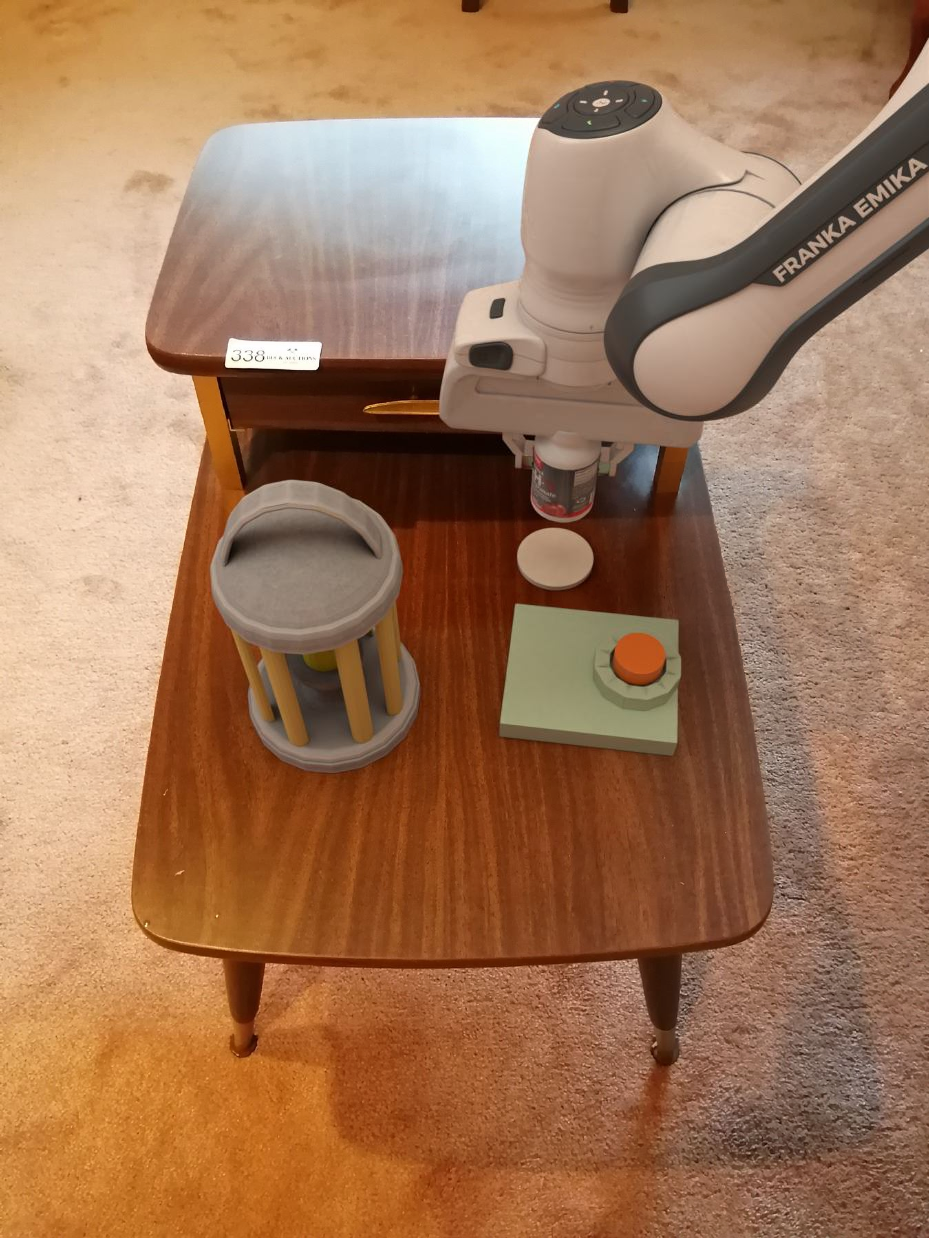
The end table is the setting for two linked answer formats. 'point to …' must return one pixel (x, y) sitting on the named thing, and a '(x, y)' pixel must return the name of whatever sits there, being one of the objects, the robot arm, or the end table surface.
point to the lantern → (317, 624)
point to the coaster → (555, 559)
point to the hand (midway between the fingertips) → (564, 467)
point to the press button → (638, 658)
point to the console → (587, 682)
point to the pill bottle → (564, 475)
